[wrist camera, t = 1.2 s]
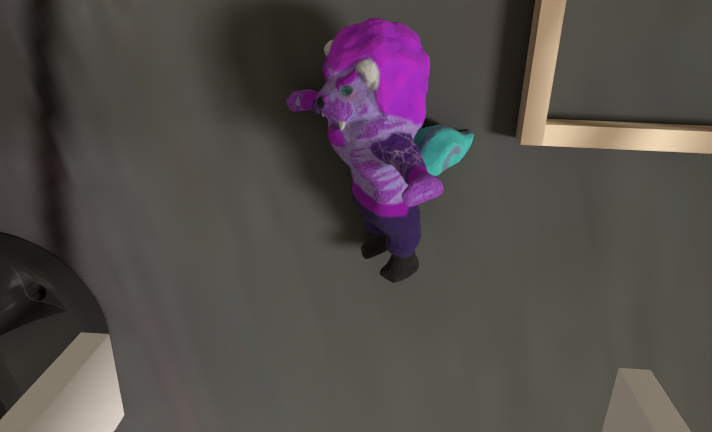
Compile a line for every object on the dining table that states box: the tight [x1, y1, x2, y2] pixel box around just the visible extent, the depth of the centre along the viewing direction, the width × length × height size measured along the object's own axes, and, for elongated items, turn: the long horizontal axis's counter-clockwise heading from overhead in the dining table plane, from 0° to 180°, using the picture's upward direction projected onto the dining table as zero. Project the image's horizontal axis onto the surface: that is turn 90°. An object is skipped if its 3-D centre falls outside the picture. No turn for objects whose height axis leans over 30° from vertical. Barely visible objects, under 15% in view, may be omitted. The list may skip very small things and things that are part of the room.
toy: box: [286, 18, 474, 283], centre depth 30 cm, size 12×10×15 cm
